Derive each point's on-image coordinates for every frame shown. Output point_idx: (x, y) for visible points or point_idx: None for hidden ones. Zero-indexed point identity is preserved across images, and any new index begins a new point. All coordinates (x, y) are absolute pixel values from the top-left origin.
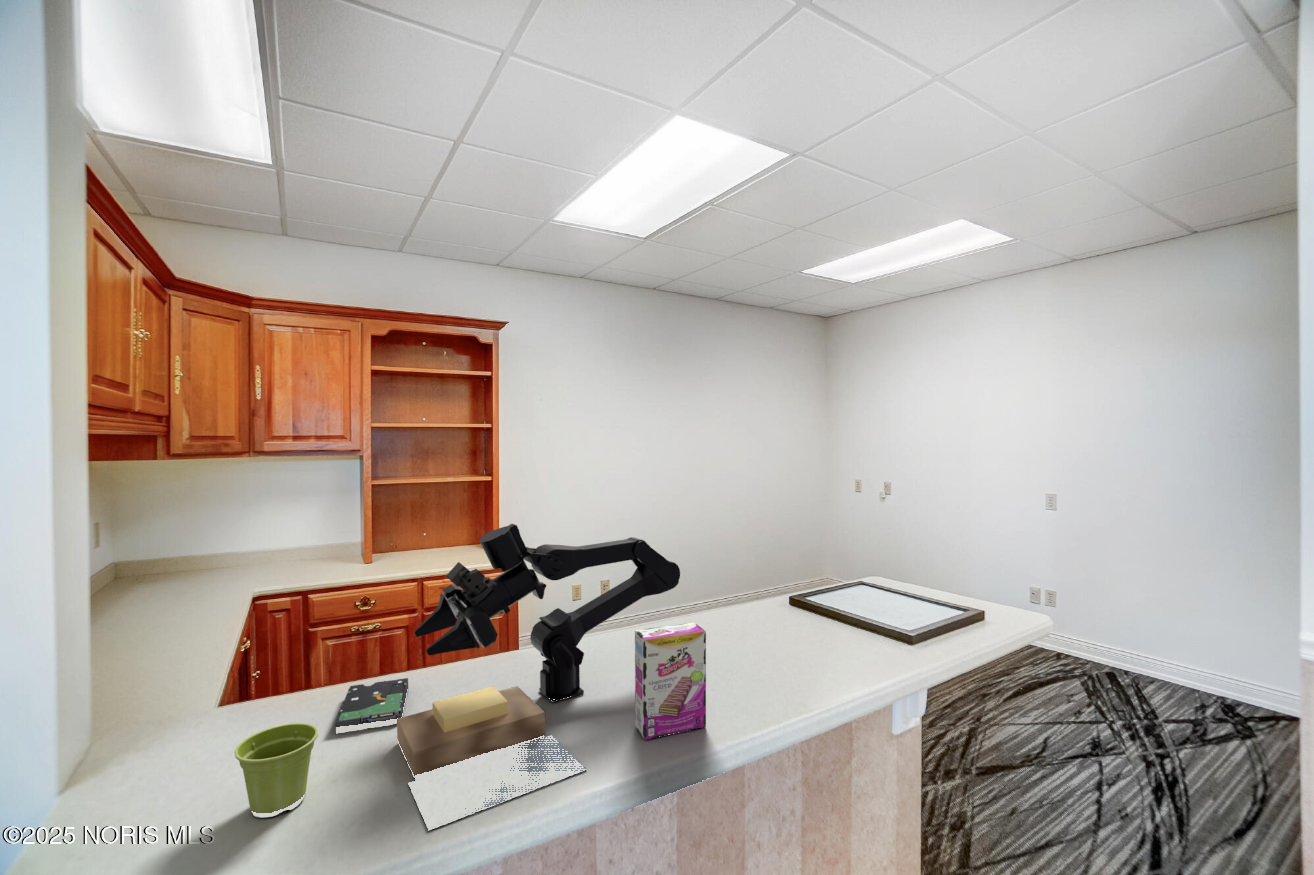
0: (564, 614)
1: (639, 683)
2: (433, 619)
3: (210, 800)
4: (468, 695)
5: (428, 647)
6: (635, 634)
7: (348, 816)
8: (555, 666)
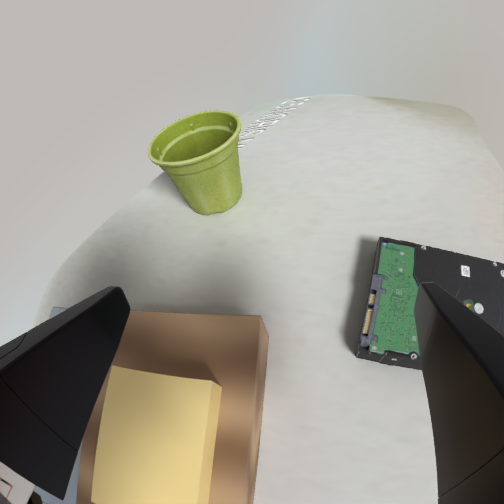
0: None
1: None
2: (474, 391)
3: (276, 152)
4: (182, 468)
5: (106, 291)
6: None
7: (133, 251)
8: None
